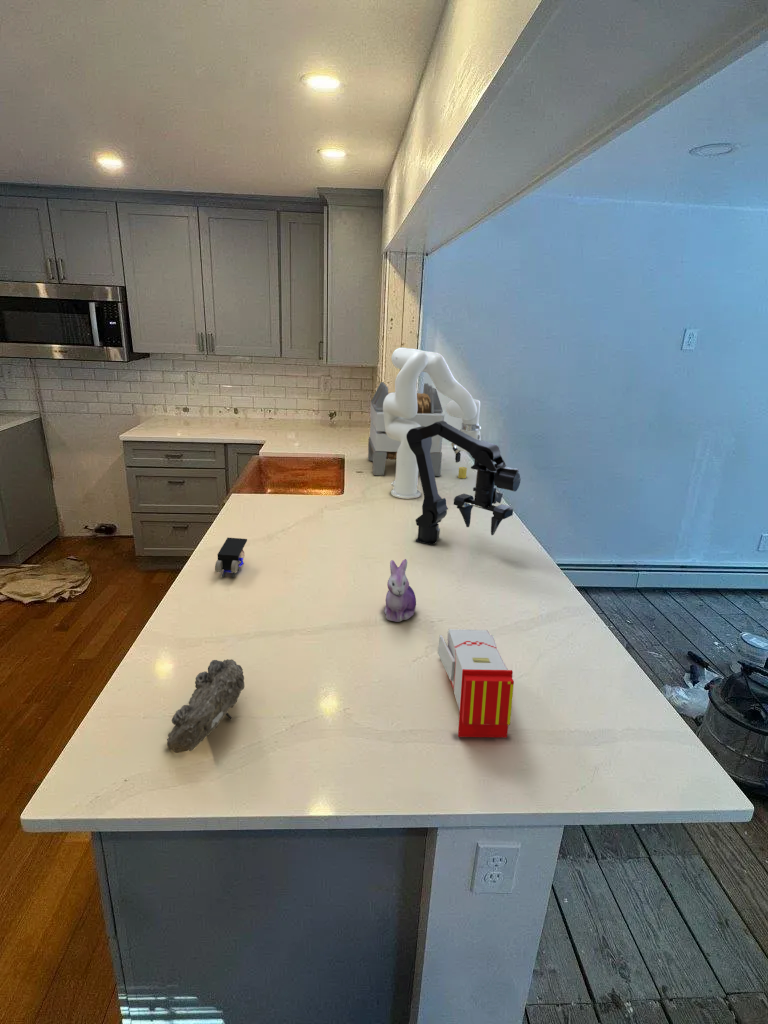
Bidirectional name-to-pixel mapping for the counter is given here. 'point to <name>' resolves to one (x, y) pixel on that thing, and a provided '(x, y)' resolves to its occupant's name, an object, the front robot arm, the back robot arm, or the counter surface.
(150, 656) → the counter surface
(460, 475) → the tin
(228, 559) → the black toy car
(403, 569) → the figurine
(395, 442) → the grey crate stand
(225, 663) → the fossil
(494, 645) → the toy
